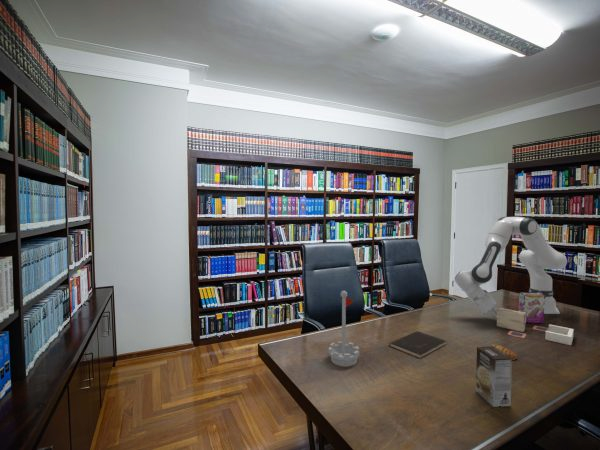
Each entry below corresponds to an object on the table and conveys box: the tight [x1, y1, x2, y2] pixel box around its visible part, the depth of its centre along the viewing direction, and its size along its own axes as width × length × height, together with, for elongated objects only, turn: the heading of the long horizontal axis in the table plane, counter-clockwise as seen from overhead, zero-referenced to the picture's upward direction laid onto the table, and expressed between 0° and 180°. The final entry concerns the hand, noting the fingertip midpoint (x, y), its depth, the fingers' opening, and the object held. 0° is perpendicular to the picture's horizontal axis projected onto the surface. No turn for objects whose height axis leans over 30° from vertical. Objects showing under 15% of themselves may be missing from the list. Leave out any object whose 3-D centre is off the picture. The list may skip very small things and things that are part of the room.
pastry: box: [492, 344, 518, 361], centre depth 132 cm, size 9×7×4 cm
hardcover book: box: [388, 330, 447, 359], centre depth 143 cm, size 16×23×2 cm
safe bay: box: [545, 324, 575, 346], centre depth 150 cm, size 14×10×4 cm
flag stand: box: [328, 290, 360, 367], centre depth 128 cm, size 13×13×30 cm
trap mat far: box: [532, 325, 549, 333], centre depth 162 cm, size 7×7×1 cm
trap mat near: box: [507, 330, 527, 339], centre depth 155 cm, size 7×7×1 cm
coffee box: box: [475, 345, 513, 408], centre depth 101 cm, size 9×6×16 cm
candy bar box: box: [518, 292, 545, 324], centre depth 173 cm, size 11×5×16 cm, turn 84°
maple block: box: [496, 307, 526, 333], centre depth 165 cm, size 6×12×9 cm, turn 44°
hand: (496, 316), depth 170 cm, fingers closed, pressing on maple block
